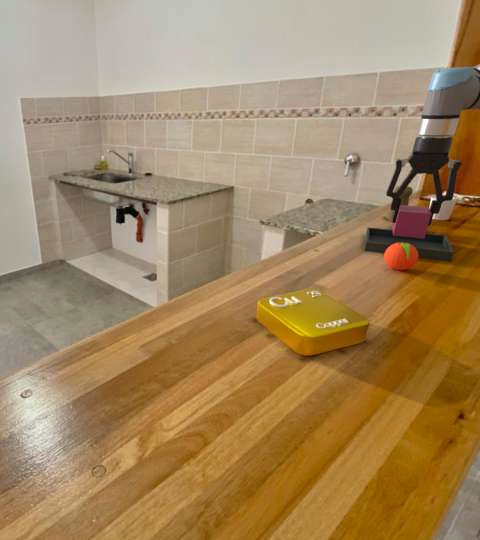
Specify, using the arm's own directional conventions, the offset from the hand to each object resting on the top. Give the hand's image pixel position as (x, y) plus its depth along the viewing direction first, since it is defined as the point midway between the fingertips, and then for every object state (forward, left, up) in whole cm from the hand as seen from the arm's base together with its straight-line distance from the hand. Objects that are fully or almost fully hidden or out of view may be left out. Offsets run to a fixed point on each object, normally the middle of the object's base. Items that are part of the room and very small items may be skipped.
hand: (410, 222), depth 106 cm
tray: (0, 0, -7) cm, 7 cm away
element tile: (+18, +56, -7) cm, 59 cm away
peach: (+2, +18, -7) cm, 19 cm away
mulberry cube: (0, 0, -3) cm, 3 cm away
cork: (+1, -30, -7) cm, 31 cm away
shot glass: (-11, -35, -7) cm, 38 cm away
